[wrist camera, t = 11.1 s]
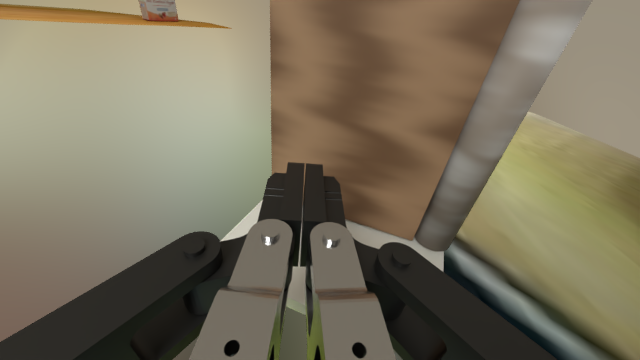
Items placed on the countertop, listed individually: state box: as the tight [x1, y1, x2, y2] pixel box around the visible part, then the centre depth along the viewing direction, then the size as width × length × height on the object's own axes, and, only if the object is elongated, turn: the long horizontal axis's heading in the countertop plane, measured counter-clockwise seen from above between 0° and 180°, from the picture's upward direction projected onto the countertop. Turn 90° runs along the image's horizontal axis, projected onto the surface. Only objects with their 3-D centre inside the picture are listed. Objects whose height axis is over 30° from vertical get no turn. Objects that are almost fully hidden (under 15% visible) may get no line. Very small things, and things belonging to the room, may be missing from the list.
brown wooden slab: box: [270, 0, 592, 251], centre depth 16 cm, size 14×3×15 cm, turn 70°
